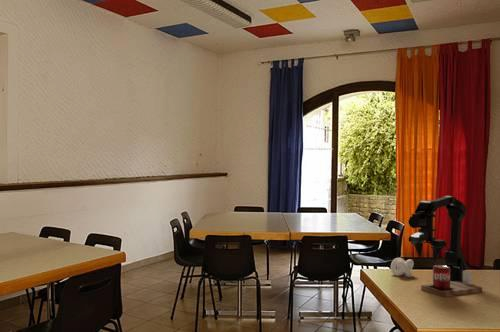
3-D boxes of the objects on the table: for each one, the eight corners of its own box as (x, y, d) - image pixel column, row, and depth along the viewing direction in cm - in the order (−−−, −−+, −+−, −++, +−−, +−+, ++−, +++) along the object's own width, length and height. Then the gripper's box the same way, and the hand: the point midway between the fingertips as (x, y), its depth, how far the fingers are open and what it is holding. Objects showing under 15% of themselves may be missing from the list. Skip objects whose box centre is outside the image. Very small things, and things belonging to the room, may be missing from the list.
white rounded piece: (387, 276, 231) (388, 259, 231) (393, 272, 241) (393, 255, 241) (410, 279, 225) (410, 261, 225) (414, 275, 235) (414, 258, 235)
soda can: (451, 295, 196) (452, 268, 196) (434, 294, 197) (435, 267, 197) (447, 291, 203) (448, 265, 203) (431, 290, 204) (431, 264, 204)
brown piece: (458, 285, 214) (458, 268, 214) (482, 291, 202) (482, 274, 202) (421, 289, 203) (421, 272, 203) (444, 297, 192) (444, 278, 192)
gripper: (400, 225, 216) (400, 256, 216) (429, 230, 199) (429, 264, 199) (417, 224, 221) (417, 254, 221) (447, 228, 204) (447, 262, 204)
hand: (426, 258), depth 211 cm, fingers open, 9 cm apart
